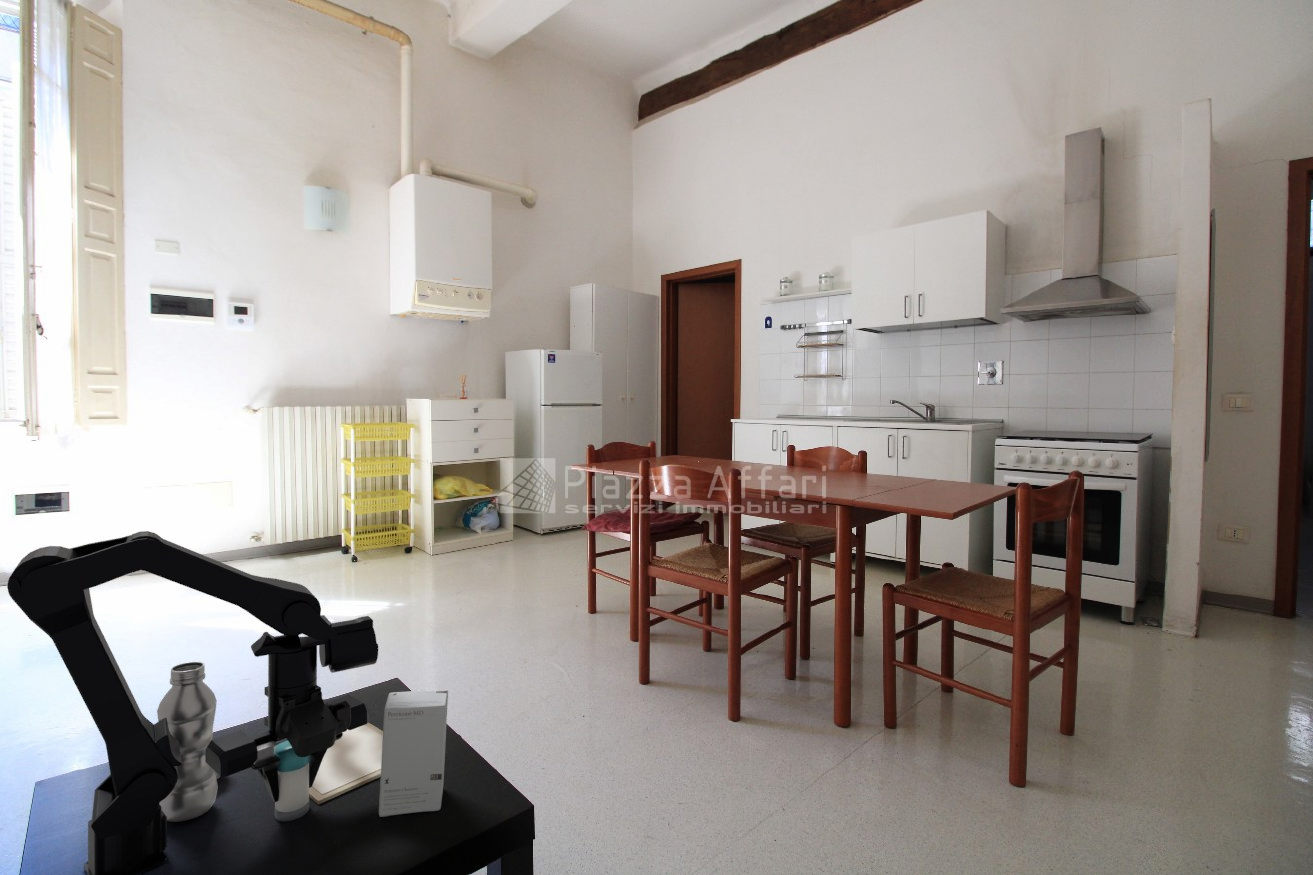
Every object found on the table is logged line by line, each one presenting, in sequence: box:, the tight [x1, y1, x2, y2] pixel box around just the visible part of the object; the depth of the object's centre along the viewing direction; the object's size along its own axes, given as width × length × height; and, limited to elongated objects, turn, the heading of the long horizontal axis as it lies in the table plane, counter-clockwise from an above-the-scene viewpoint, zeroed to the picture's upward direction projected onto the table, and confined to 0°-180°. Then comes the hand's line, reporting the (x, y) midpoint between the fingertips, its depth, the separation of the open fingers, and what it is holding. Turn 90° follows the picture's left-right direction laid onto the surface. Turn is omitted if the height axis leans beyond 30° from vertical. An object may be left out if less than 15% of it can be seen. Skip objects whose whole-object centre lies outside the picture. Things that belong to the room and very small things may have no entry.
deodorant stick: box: [274, 740, 310, 822], centre depth 88 cm, size 4×4×9 cm
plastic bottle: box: [156, 661, 219, 823], centre depth 86 cm, size 6×7×20 cm
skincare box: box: [378, 689, 449, 818], centre depth 90 cm, size 8×6×15 cm
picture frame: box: [274, 722, 383, 805], centre depth 102 cm, size 16×20×1 cm
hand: (292, 793), depth 88 cm, fingers closed on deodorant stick, 4 cm apart
